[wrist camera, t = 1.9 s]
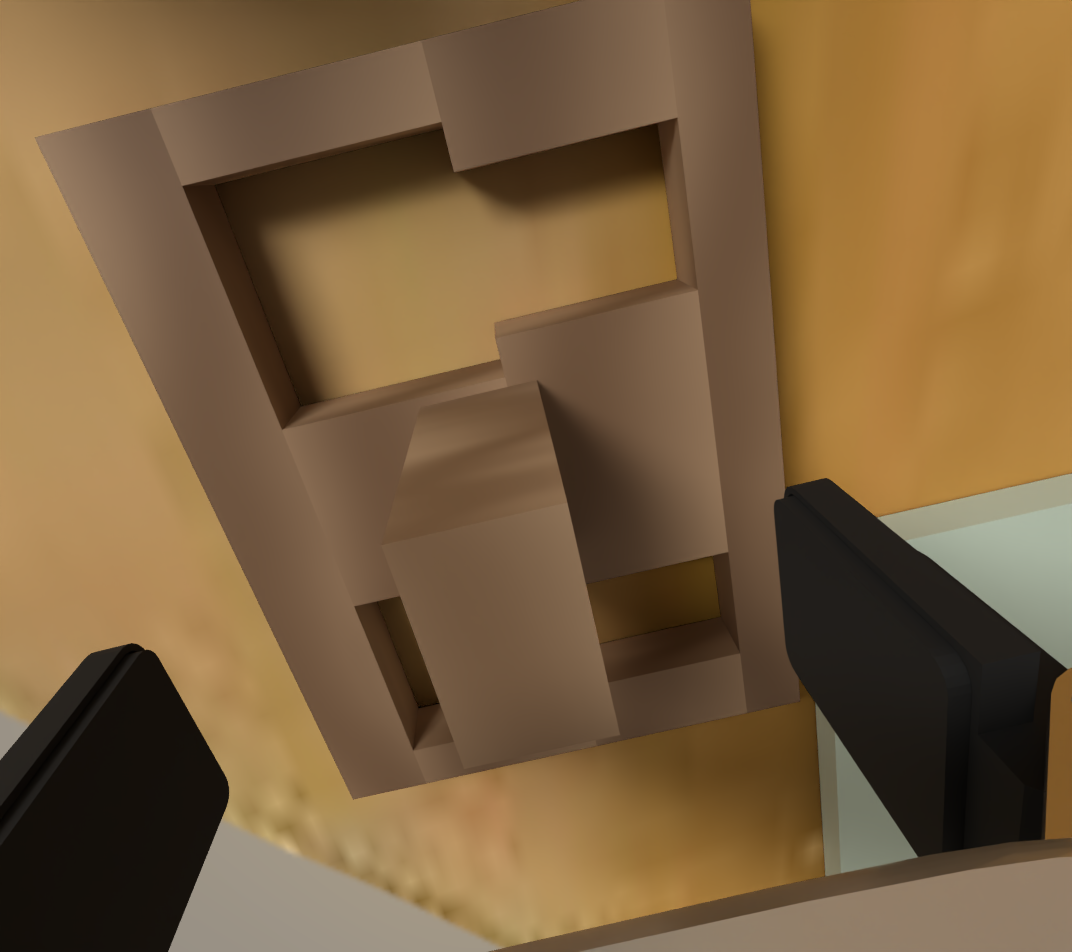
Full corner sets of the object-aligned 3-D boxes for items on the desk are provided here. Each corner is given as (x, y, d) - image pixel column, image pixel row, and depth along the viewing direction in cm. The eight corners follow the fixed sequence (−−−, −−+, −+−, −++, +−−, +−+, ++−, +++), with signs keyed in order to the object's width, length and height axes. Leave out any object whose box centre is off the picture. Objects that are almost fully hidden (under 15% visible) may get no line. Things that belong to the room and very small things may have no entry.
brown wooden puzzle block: (717, -18, 12) (976, -232, 6) (776, 662, 19) (927, 915, 12) (84, 141, 12) (-339, 106, 6) (362, 754, 19) (301, 1045, 13)
